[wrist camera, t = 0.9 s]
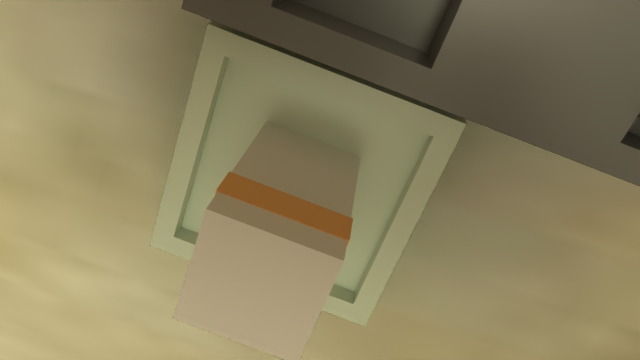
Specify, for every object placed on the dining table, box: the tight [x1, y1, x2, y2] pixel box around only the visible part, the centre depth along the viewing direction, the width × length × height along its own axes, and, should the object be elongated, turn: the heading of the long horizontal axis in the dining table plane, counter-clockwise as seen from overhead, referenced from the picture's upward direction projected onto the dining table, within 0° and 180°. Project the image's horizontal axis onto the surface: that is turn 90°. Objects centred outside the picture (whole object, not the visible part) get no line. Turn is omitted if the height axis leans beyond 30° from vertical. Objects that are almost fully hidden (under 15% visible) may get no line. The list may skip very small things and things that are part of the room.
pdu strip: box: [182, 0, 640, 186], centre depth 15 cm, size 7×20×8 cm, turn 70°
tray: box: [150, 21, 467, 326], centre depth 21 cm, size 9×9×2 cm
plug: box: [173, 121, 361, 360], centre depth 18 cm, size 4×4×7 cm
